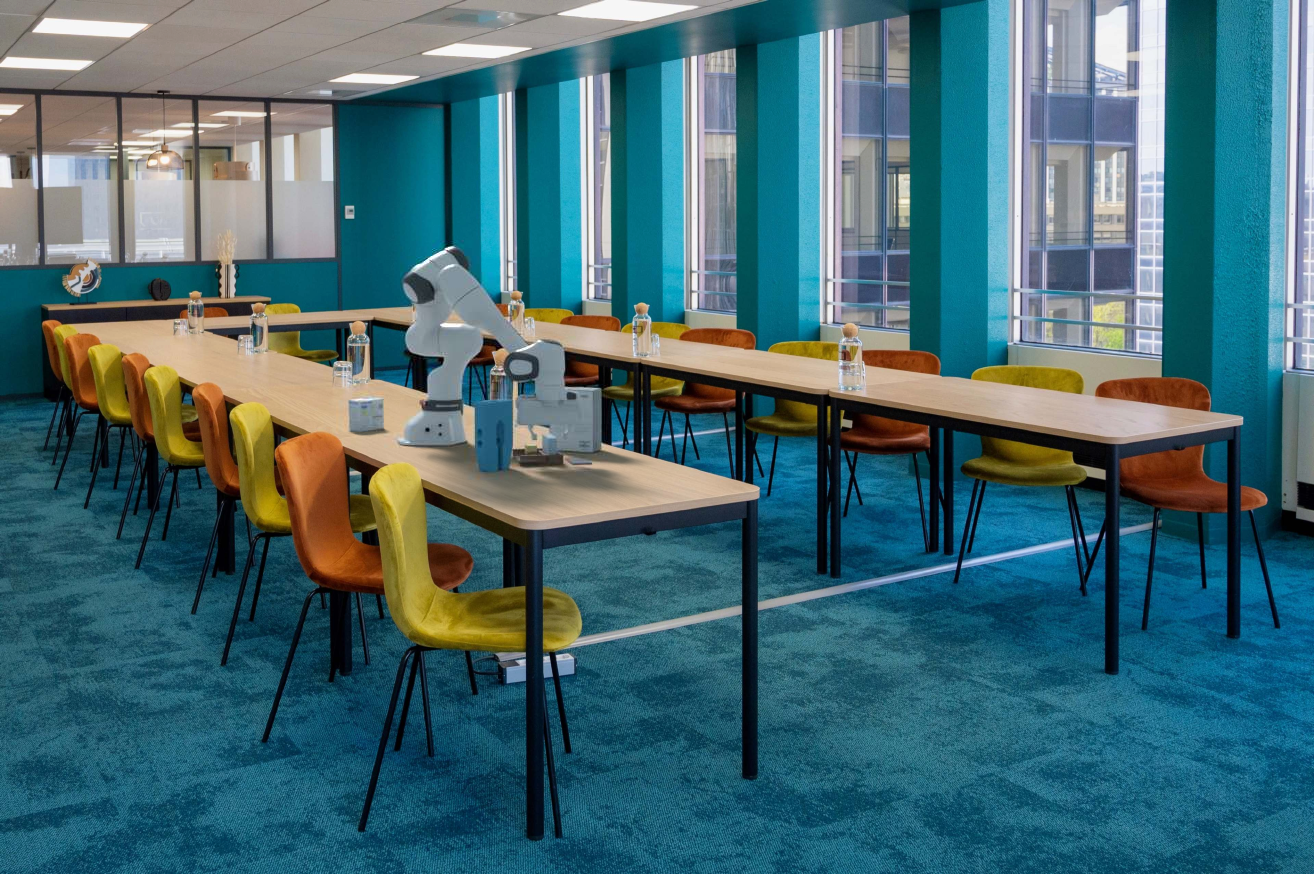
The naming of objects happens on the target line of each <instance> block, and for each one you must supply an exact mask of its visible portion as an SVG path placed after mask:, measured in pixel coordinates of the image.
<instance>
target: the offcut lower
mask: <svg viewBox="0 0 1314 874" xmlns="http://www.w3.org/2000/svg"><path fill="white" fill-rule="evenodd" d="M525 455H537V452H527V451H526V450H525Z"/></svg>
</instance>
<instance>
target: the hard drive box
mask: <svg viewBox="0 0 1314 874" xmlns="http://www.w3.org/2000/svg"><path fill="white" fill-rule="evenodd" d="M565 389H570V390H572V391H575V392H577V393H579V394H580V399H579V400H578V401H580V402H581V404H582V407H583V415H584V421H583V422H582V424H572V429H571V430H570V432H569V434H568V439H562V433H565V431H566V430H567V427H566V425H548V426H549V428H548V430H549V431H548V432H549V434H552V435H553V436H554V437H556V438H557V451H559V452H560V451H561V452H576V453H577V452H578V453H590V454H591V453H595V452H597V451H600V450H603V449H602V447H603V446H602V388H600V387H597V388H596V387H577V386H575V387H574V386H573V387H572V386H571V387H570V386H565Z"/></svg>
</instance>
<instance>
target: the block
mask: <svg viewBox="0 0 1314 874" xmlns="http://www.w3.org/2000/svg"><path fill="white" fill-rule="evenodd" d="M512 449H514V400H513V399H510V398H509V399H508V398H497V399H488V400H480V401H474V450H475V458H476V461H477V467H478V470H479V471H480V472H486V473H487V472H488V473H492V472H498V471H499V470H509V469H510V465H511V459H512Z"/></svg>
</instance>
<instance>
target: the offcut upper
mask: <svg viewBox="0 0 1314 874" xmlns="http://www.w3.org/2000/svg"><path fill="white" fill-rule="evenodd" d="M537 448H538V445H537V444H536V443H524V449H525V450H526V451H527V452H537Z"/></svg>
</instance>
